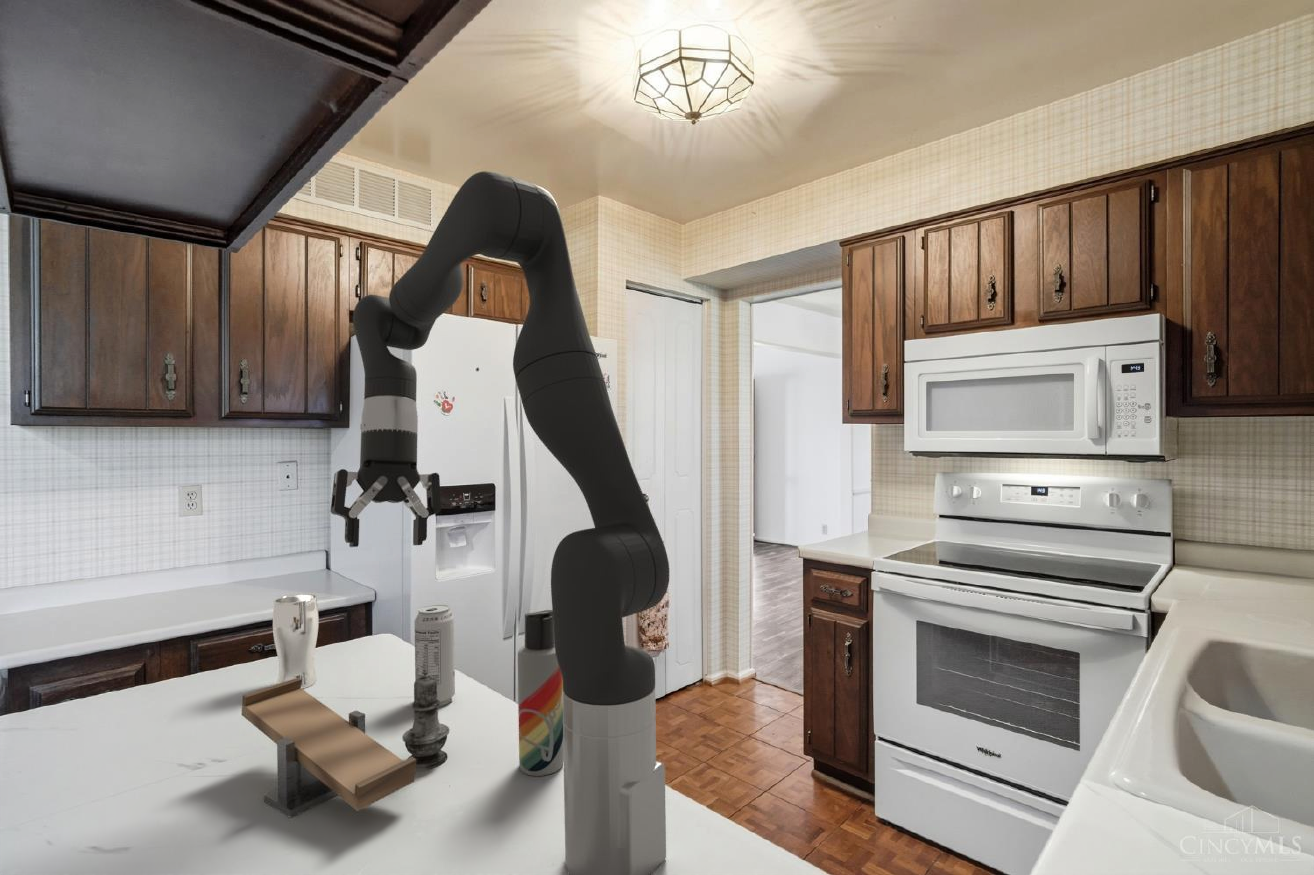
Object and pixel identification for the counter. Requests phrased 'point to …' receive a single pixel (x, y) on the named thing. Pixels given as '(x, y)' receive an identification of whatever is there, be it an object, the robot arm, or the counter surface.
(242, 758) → the counter surface
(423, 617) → the energy drink can
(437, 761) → the dark grey turned piece
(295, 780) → the pivot stand
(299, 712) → the beam
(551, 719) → the lotion bottle
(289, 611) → the beer glass
